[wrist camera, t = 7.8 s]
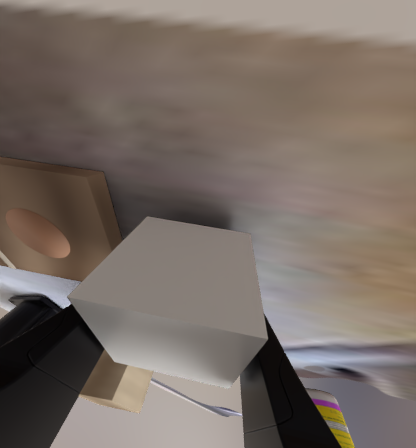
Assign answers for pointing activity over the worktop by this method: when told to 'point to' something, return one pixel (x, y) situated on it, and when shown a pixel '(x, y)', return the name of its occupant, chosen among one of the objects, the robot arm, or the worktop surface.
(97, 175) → the board
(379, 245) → the worktop surface
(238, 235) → the block
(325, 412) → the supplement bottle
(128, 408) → the tan rectangular block
